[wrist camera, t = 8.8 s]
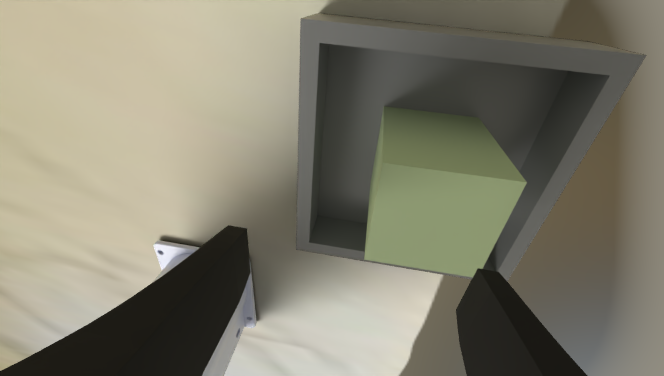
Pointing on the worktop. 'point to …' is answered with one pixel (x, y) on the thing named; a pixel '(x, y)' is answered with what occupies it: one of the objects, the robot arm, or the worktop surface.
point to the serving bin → (449, 98)
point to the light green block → (438, 192)
